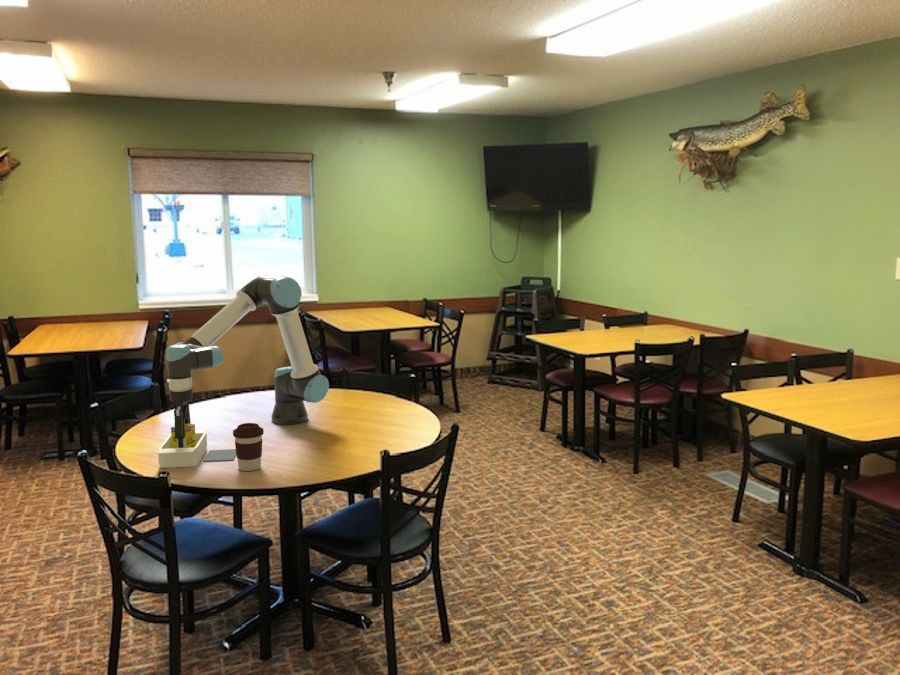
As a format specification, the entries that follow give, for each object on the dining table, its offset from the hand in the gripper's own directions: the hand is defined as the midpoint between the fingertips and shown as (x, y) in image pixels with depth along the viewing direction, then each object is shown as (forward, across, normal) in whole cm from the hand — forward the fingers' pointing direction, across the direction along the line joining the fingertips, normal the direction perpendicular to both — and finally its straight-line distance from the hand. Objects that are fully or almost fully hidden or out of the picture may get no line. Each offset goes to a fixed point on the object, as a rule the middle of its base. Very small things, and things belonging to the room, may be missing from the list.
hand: (184, 452), depth 245 cm
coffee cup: (+3, +14, +24) cm, 28 cm away
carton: (+2, 0, 0) cm, 2 cm away
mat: (+2, -1, +12) cm, 13 cm away
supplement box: (+1, 0, 0) cm, 1 cm away
